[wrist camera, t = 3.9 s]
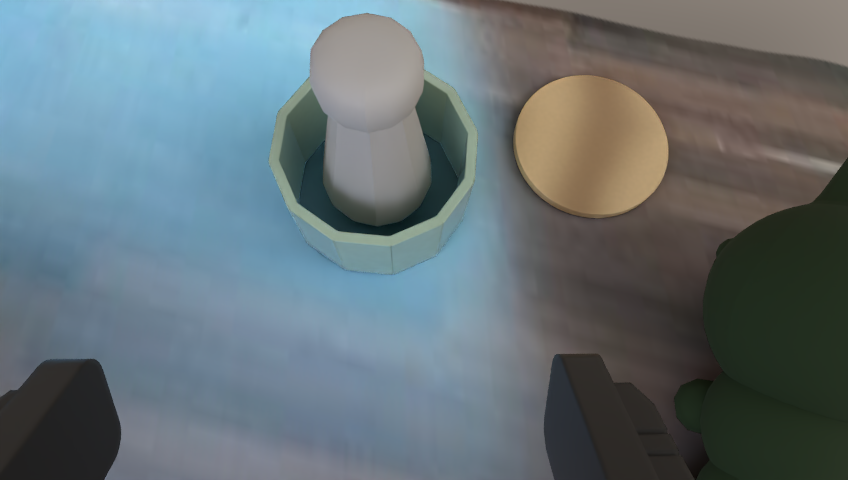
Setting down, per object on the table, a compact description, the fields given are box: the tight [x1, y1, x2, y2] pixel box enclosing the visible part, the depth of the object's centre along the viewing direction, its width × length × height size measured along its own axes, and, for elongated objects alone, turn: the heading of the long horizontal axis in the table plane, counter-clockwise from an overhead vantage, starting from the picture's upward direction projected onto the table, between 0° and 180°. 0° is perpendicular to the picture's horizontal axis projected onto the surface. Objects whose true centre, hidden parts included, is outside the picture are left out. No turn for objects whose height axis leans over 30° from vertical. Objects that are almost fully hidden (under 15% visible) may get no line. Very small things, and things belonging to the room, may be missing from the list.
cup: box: [269, 70, 478, 275], centre depth 30 cm, size 10×10×6 cm
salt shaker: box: [310, 13, 431, 227], centre depth 26 cm, size 6×6×13 cm
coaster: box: [513, 75, 668, 218], centre depth 34 cm, size 9×9×1 cm
